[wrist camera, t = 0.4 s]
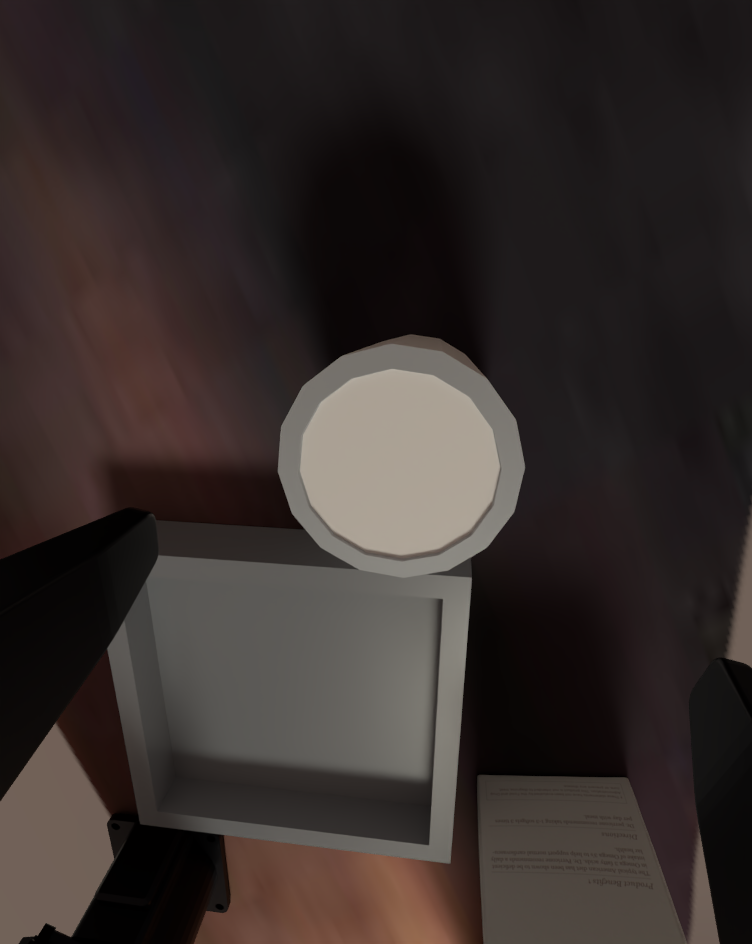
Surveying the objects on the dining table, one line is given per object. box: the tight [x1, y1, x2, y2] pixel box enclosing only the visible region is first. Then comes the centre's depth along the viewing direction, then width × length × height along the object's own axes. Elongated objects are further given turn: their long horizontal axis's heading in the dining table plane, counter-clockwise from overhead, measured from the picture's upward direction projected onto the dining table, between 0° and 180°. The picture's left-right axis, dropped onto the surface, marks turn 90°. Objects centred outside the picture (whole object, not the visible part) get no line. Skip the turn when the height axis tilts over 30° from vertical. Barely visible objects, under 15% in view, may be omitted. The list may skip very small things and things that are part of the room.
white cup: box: [278, 334, 525, 578], centre depth 19 cm, size 7×7×7 cm
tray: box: [107, 520, 472, 864], centre depth 26 cm, size 15×15×3 cm
